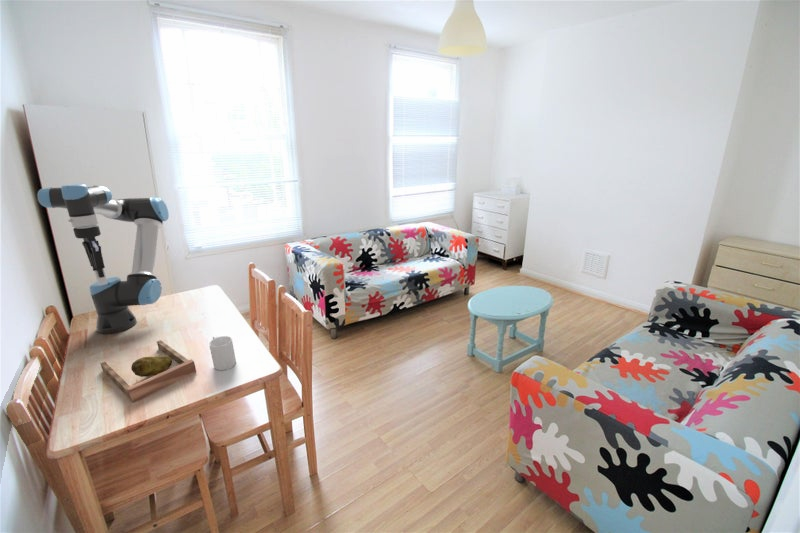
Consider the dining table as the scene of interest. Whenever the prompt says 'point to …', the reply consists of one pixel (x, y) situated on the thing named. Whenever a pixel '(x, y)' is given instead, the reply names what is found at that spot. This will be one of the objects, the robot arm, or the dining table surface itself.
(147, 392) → the channel
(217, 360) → the mug
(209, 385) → the dining table surface
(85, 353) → the dining table surface
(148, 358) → the potato
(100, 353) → the dining table surface
